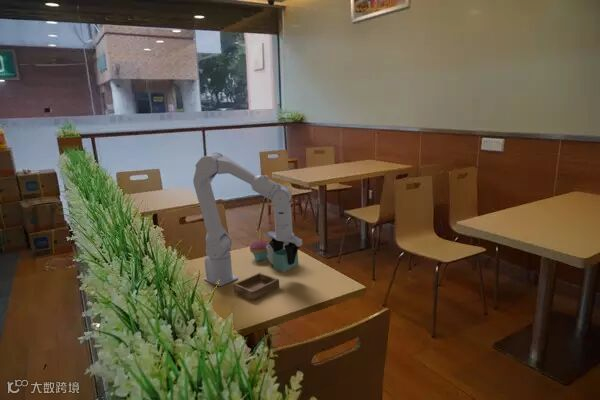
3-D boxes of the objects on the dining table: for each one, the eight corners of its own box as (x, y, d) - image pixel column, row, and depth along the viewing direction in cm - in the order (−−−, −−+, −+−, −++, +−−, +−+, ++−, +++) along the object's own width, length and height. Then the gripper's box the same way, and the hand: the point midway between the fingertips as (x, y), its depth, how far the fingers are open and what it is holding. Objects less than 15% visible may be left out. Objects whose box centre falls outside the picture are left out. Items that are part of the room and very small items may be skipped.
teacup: (292, 270, 147) (291, 249, 145) (264, 269, 150) (262, 248, 148) (300, 256, 161) (299, 236, 159) (274, 255, 163) (272, 236, 161)
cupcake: (250, 255, 164) (248, 227, 161) (271, 253, 165) (269, 225, 162) (250, 263, 156) (248, 233, 153) (272, 261, 157) (270, 231, 154)
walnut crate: (234, 292, 132) (233, 284, 131) (260, 280, 140) (259, 272, 139) (253, 301, 126) (252, 292, 125) (279, 287, 134) (278, 279, 133)
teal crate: (273, 268, 137) (272, 253, 135) (287, 262, 142) (286, 247, 140) (283, 272, 133) (282, 256, 132) (298, 265, 138) (297, 250, 137)
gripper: (307, 224, 132) (309, 263, 135) (276, 217, 141) (279, 253, 145) (292, 229, 127) (294, 270, 130) (261, 221, 136) (264, 259, 140)
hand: (285, 261), depth 137 cm, fingers closed on teal crate, 5 cm apart
